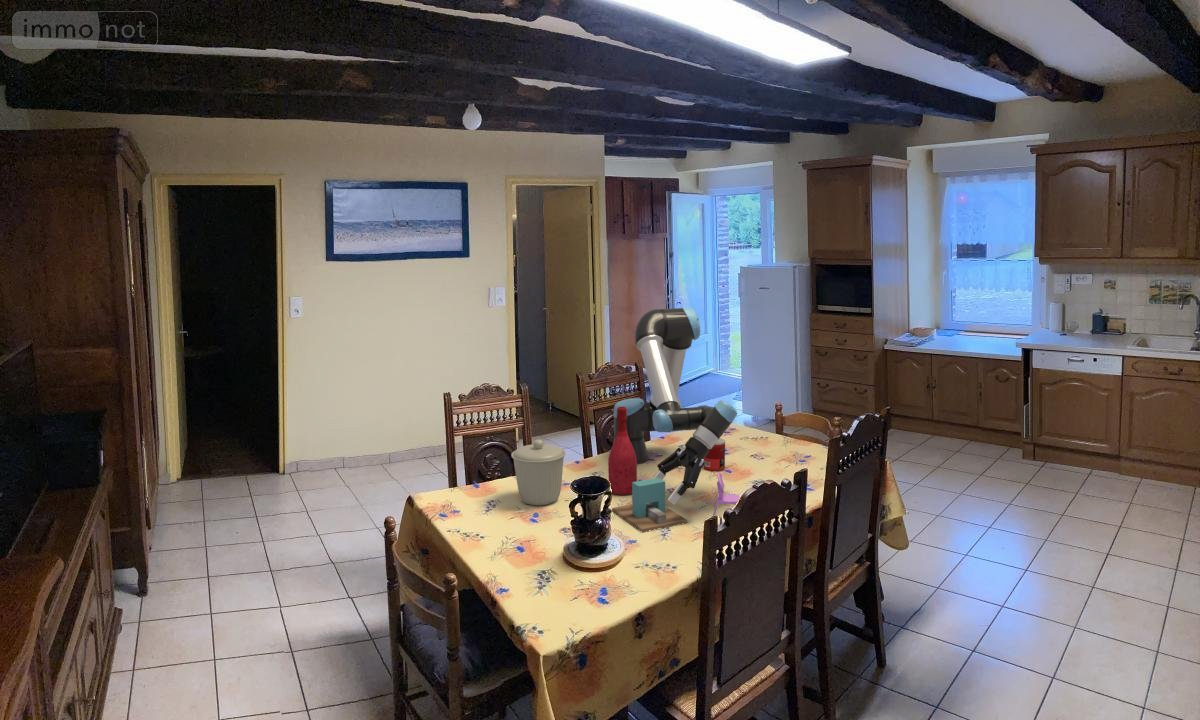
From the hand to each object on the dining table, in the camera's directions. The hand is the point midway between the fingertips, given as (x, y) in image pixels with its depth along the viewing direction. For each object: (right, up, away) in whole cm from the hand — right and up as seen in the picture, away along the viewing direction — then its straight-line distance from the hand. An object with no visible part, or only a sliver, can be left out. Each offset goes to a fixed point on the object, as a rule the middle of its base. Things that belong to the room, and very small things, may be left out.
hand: (660, 495), depth 249 cm
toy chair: (+20, -7, -4) cm, 22 cm away
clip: (-4, -6, -1) cm, 7 cm away
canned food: (+24, +2, +46) cm, 52 cm away
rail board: (-4, -7, -1) cm, 8 cm away
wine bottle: (-11, -3, +23) cm, 26 cm away
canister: (-39, -4, +15) cm, 42 cm away
